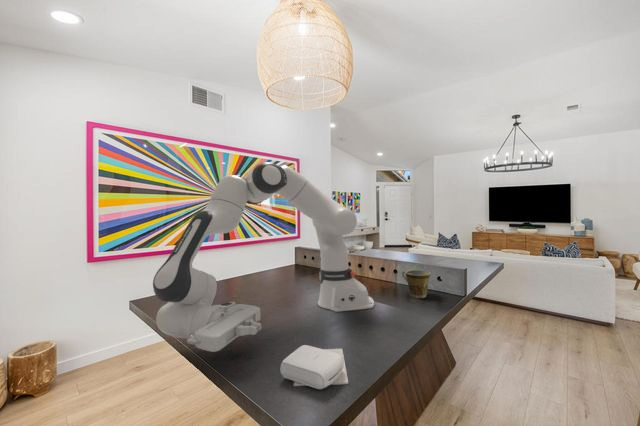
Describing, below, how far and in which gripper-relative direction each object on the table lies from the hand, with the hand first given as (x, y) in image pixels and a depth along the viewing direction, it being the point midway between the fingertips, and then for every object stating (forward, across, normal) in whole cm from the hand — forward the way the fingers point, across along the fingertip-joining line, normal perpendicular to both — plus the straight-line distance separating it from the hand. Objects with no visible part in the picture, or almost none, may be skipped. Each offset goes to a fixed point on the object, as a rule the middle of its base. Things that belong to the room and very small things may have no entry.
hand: (258, 329), depth 71 cm
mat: (+15, +3, +9) cm, 18 cm away
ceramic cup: (+38, +67, +9) cm, 77 cm away
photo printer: (+9, 0, +6) cm, 11 cm away
